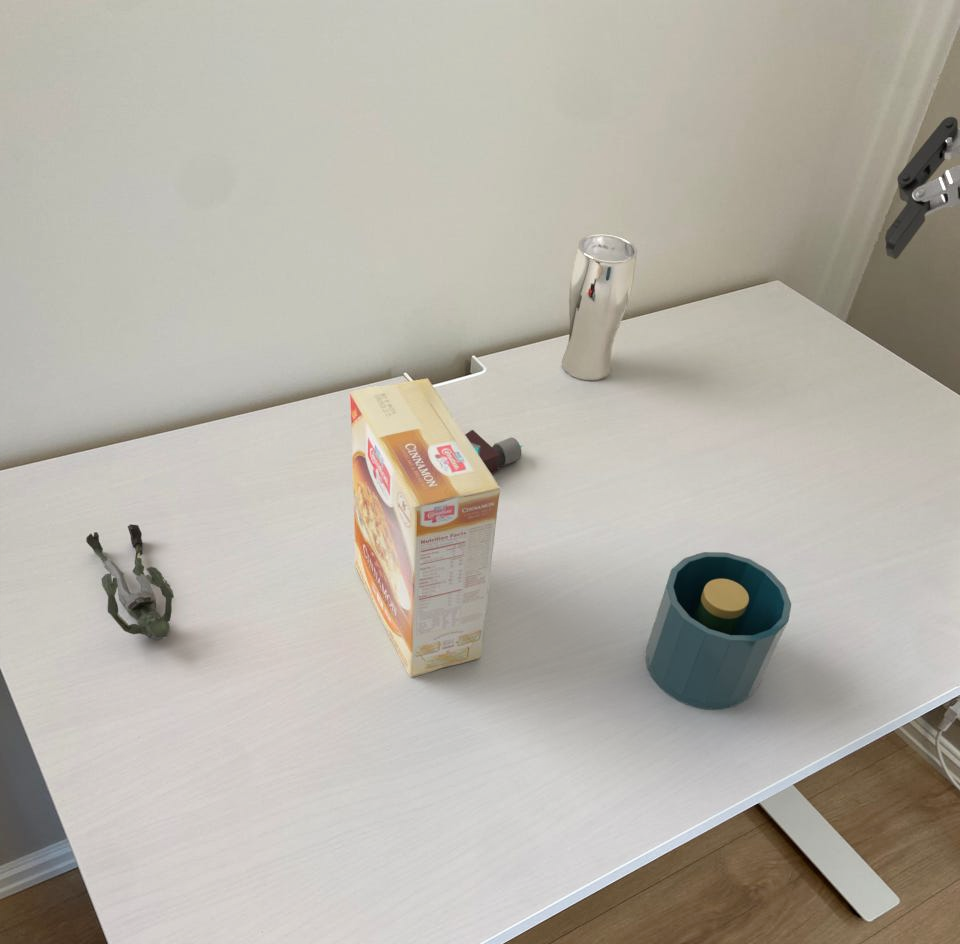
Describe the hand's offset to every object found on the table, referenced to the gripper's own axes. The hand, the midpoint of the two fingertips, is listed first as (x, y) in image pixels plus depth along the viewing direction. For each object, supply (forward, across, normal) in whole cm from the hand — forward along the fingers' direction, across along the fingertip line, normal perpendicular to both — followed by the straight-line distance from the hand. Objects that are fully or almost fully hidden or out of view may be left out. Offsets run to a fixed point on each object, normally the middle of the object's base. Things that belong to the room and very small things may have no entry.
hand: (938, 275), depth 74 cm
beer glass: (+16, -37, +27) cm, 49 cm away
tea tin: (+35, +2, +7) cm, 35 cm away
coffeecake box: (+46, -19, -3) cm, 50 cm away
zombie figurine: (+60, -36, -16) cm, 72 cm away
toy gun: (+33, -34, +10) cm, 48 cm away
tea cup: (+35, +2, +8) cm, 36 cm away
